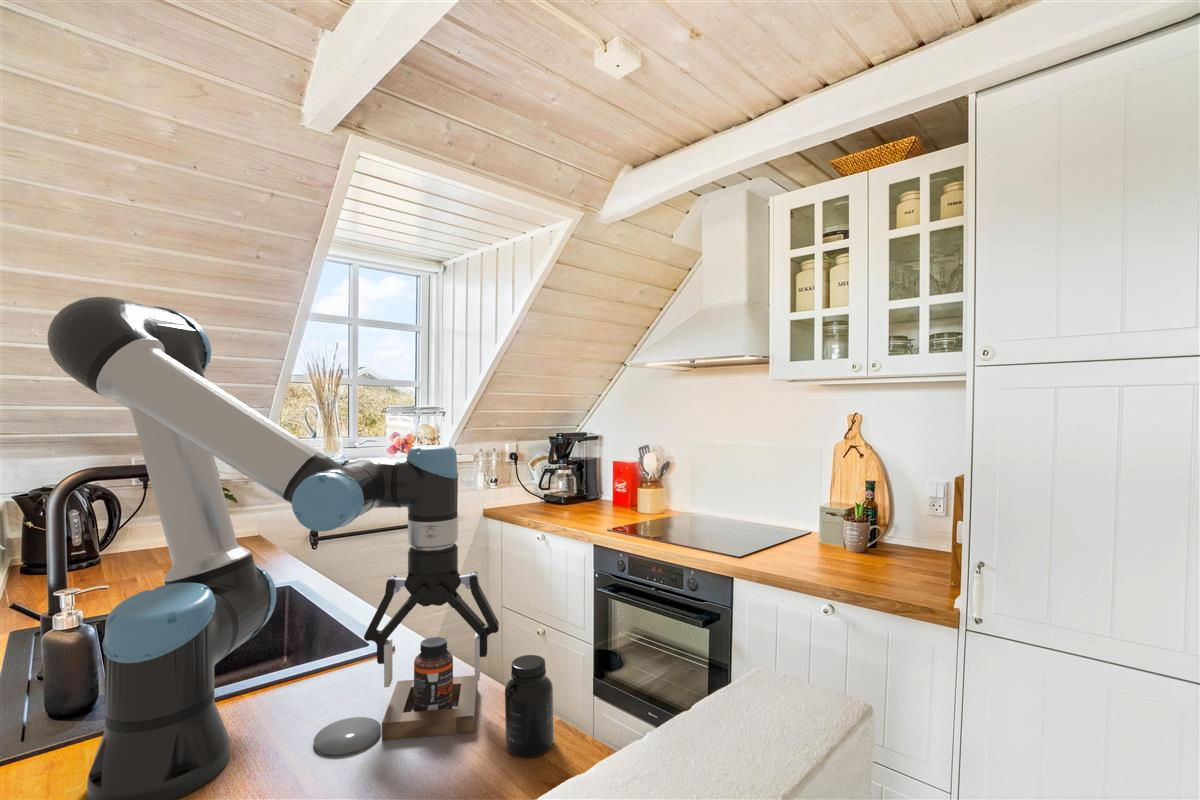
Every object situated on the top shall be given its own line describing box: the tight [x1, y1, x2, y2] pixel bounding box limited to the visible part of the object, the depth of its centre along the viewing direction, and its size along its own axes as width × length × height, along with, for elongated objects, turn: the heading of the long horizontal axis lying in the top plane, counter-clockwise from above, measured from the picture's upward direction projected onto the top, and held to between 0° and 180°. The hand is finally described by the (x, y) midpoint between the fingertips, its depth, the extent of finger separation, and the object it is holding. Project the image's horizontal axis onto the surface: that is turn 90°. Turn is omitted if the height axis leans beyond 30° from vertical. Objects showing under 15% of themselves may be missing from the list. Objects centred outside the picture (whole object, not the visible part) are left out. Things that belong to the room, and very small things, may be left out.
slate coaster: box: [313, 716, 382, 757], centre depth 88 cm, size 9×9×1 cm
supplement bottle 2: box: [504, 654, 555, 759], centre depth 86 cm, size 7×7×12 cm
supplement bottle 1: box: [413, 636, 454, 712], centre depth 94 cm, size 6×6×11 cm
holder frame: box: [381, 674, 479, 741], centre depth 94 cm, size 13×13×2 cm
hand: (433, 680), depth 94 cm, fingers open, 13 cm apart
